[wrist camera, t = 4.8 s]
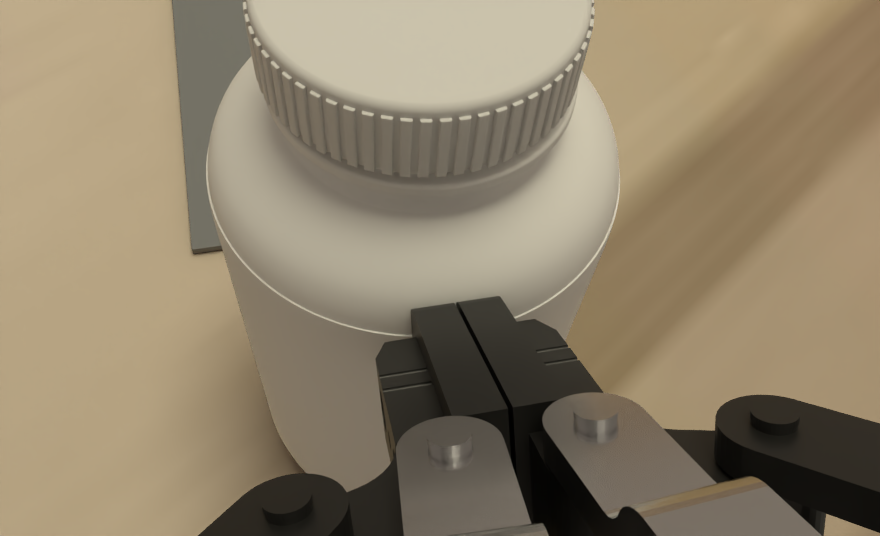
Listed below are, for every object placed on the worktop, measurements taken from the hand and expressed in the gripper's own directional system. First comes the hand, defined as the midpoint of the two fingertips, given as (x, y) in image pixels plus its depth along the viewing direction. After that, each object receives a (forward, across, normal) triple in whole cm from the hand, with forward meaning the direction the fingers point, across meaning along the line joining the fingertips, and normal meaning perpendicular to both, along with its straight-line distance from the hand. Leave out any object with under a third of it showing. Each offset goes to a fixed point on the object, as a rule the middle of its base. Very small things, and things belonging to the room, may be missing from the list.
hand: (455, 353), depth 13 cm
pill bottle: (+10, 0, +6) cm, 12 cm away
